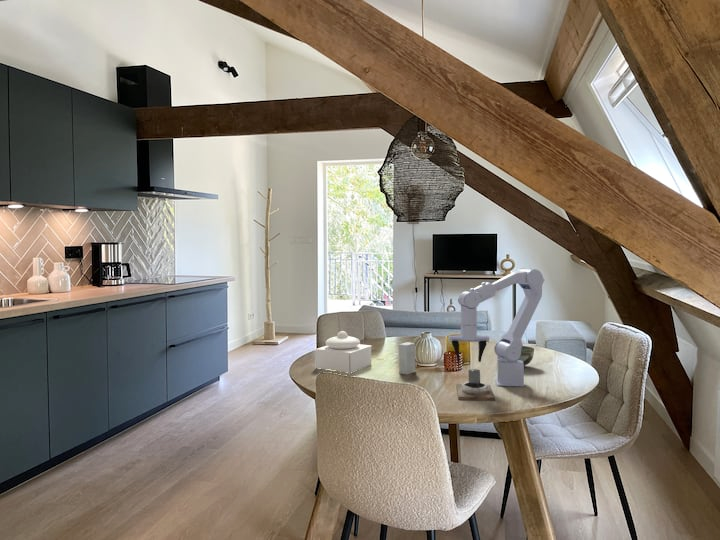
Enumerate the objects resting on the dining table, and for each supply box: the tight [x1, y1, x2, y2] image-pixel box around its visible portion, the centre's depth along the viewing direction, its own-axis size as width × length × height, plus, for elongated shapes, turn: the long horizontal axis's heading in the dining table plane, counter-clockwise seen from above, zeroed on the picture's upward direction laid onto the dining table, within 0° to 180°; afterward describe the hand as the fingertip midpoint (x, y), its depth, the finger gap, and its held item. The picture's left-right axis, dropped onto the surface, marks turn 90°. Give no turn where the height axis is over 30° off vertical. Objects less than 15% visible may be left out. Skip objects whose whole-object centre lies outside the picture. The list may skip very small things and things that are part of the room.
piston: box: [467, 368, 481, 388], centre depth 188 cm, size 4×4×7 cm
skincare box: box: [398, 341, 416, 376], centre depth 219 cm, size 6×4×12 cm
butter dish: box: [314, 330, 373, 374], centre depth 230 cm, size 18×18×16 cm
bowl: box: [518, 345, 535, 369], centre depth 226 cm, size 14×13×8 cm
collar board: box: [455, 381, 496, 401], centre depth 188 cm, size 12×16×3 cm
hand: (468, 361), depth 196 cm, fingers open, 7 cm apart
